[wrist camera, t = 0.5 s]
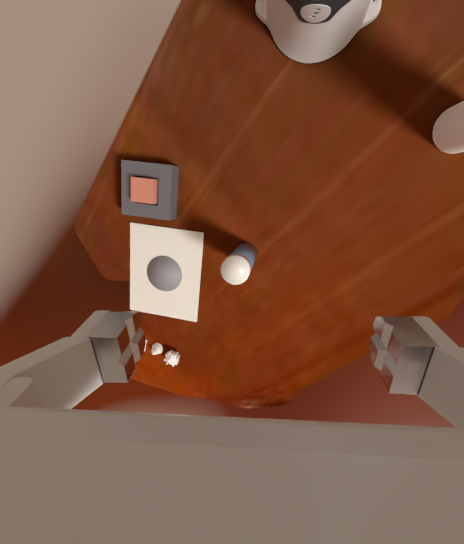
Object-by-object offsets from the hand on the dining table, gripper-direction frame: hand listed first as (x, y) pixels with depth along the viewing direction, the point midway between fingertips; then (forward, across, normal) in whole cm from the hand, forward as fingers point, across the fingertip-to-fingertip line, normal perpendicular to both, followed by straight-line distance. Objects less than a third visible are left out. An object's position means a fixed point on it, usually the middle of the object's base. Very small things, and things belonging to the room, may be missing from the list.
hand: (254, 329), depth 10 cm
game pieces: (+44, +23, +38) cm, 62 cm away
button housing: (+48, +20, +2) cm, 52 cm away
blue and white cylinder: (+44, +2, +14) cm, 47 cm away
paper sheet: (+46, +19, +19) cm, 53 cm away
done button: (+46, +20, +2) cm, 51 cm away
